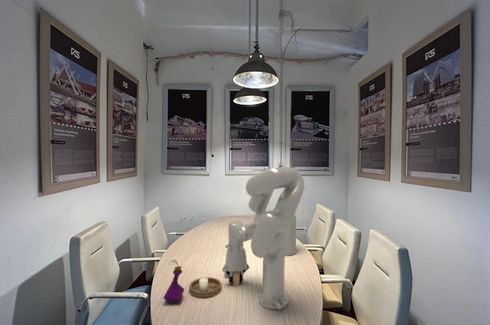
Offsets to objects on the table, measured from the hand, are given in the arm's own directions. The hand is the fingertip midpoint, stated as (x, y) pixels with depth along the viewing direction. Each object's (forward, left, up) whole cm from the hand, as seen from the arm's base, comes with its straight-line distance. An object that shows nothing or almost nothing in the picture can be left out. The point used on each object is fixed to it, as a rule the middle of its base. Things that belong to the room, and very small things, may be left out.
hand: (235, 282), depth 129 cm
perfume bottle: (-7, +30, -1) cm, 31 cm away
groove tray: (-2, +15, -1) cm, 16 cm away
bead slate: (+9, +2, -1) cm, 9 cm away
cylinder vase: (+32, -43, -1) cm, 54 cm away
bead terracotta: (0, 0, -1) cm, 1 cm away
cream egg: (-5, +17, 0) cm, 18 cm away
